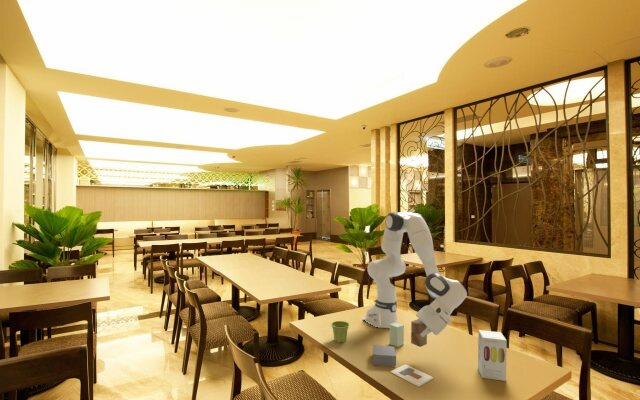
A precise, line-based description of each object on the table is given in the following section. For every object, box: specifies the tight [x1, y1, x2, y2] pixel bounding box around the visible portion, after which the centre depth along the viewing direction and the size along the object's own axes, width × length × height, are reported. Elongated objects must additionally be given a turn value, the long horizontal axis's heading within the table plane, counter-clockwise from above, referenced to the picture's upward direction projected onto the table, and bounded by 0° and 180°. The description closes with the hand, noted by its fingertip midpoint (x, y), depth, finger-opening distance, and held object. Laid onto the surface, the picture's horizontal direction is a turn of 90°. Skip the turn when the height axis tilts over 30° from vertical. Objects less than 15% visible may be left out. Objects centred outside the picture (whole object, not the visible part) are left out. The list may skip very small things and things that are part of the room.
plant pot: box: [330, 320, 350, 343], centre depth 175 cm, size 9×9×9 cm
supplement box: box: [477, 329, 508, 382], centre depth 142 cm, size 10×9×17 cm
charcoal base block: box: [372, 344, 397, 367], centre depth 153 cm, size 10×10×5 cm
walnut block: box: [410, 318, 428, 348], centre depth 154 cm, size 5×5×10 cm
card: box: [390, 364, 434, 387], centre depth 140 cm, size 14×10×1 cm
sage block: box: [389, 322, 405, 348], centre depth 171 cm, size 5×5×10 cm
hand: (417, 331), depth 154 cm, fingers closed on walnut block, 7 cm apart
